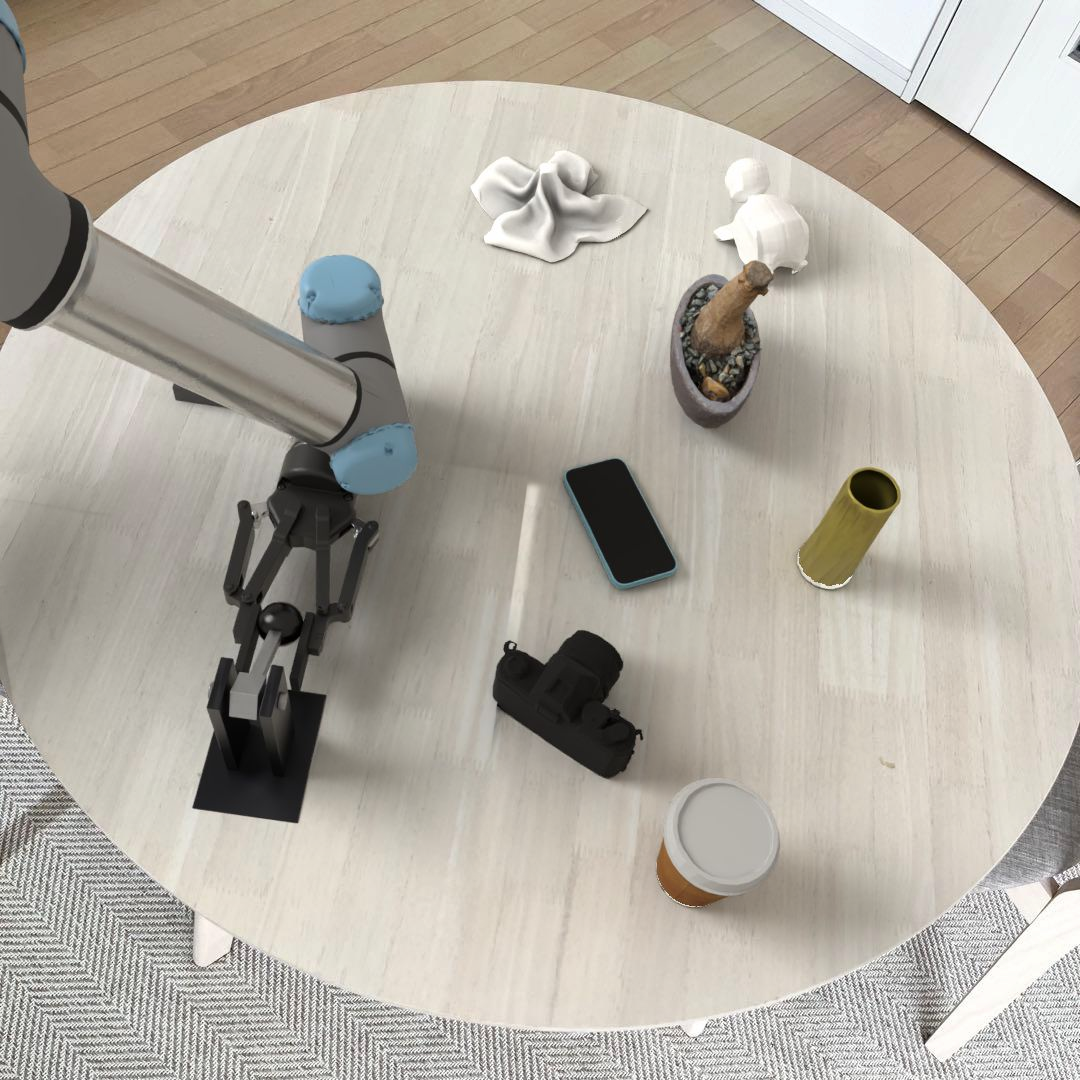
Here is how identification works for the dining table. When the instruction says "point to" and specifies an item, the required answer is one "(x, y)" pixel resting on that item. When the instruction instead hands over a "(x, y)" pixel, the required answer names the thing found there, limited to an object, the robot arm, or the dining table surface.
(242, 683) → the lever
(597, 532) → the smartphone
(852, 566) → the vase
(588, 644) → the film camera
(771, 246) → the white figurine
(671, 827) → the disposable coffee cup
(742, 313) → the planter
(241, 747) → the bracket
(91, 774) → the dining table surface
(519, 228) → the cloth
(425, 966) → the dining table surface
